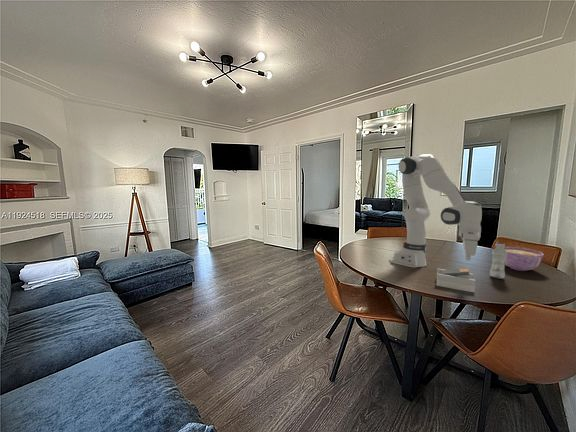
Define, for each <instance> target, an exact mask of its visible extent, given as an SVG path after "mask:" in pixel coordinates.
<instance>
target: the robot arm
mask: <svg viewBox="0 0 576 432" xmlns="http://www.w3.org/2000/svg"><path fill="white" fill-rule="evenodd" d="M398 169H399V171H400V173H401V174H402V176H401V177H402V189H403V193H404V200H405V201H406V203H407V204H408V208H407V210H406V211H404V215H403V218H404V221H405V225H406V240H404V241H403V242H402V247H400V248H399V249H397V250H396V251H395V252H394V254H393V256H392V257H390V258H389V262H390V263H392V264H395V265H401V266H405V267H409V268H413V269H414V268H424V267H426V266H427V261H426V251H427V244H426V238H427V231H426V226H425V221H427V220H429V218H430V215H431V210H430V209H429V207H428V206H429V205H428V203H427V200H426V197H425V194H424V189H423V184H422V179H423V182H424V183H425V185H426V186H427V187H428V188H429V189H430V190H432V191H437V192H439V193H441V194H443V195H445V196H446V197H447V198H448V200H449V202H450V203H451V205H452V206H448V207H445V208H443V209H442V211H441V212H440V219H441V221H442V223H444V225H450V226H452V225H453V226H454V225H456V226H457V225H458V226H459V227H458V237H460V238H461V240H462V248H463V250H464V253H465V260H466V261H471V257H472V256H473V257H474V256H475V255H476V252H477V248H478V241H480V238H481V233H482V225H481V223H482V219H483V217H482V216H483V209H482V205H481V204H480V203H478V201H472V200H471V201H470V200H465V198H464V196H463V195H462V193H461V192H460V190H459V189H458V187H457V186H456V184H454V182H453V181H452V180H451V179H450V177H449V176H448V175H447V173H446V171H445V169H444V167H443V165H442V164H441V162H440V161H439V160H438V159H437V158H436V156H434V155H433V154H430V153H425V154H416V155H412V156H407V157H406V156H405V157H404V158H402V159H400V161H399V162H398ZM421 177H422V179H421Z"/></svg>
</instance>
